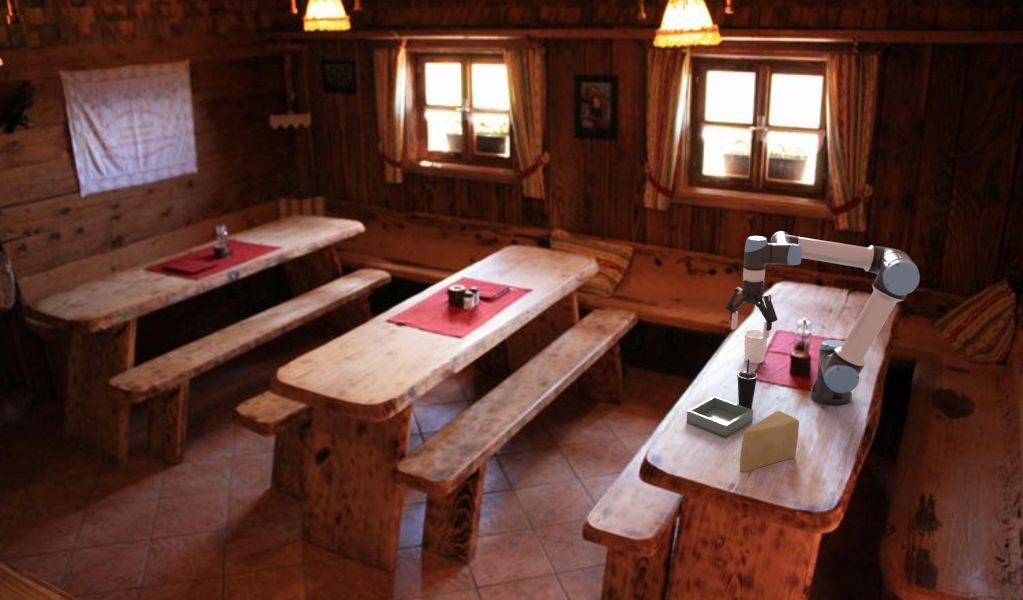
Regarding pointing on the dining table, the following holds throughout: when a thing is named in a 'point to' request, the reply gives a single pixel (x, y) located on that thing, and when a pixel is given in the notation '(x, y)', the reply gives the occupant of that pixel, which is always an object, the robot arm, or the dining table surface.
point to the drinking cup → (746, 387)
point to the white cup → (755, 346)
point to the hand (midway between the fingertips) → (749, 333)
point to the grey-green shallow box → (719, 416)
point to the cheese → (769, 441)
